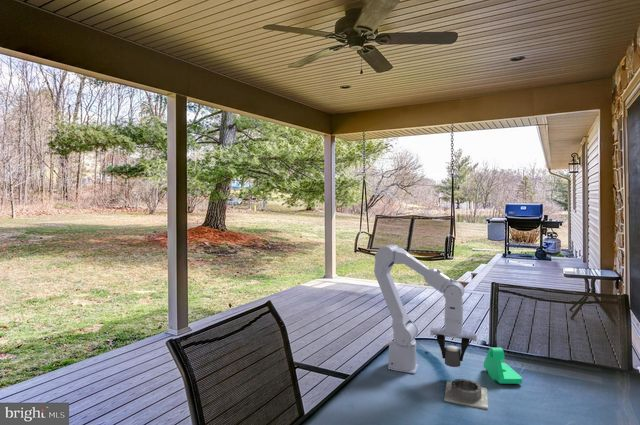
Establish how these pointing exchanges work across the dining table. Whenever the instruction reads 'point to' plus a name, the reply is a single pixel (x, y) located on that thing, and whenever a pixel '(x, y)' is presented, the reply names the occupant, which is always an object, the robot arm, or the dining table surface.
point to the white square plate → (466, 393)
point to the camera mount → (500, 368)
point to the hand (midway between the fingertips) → (452, 358)
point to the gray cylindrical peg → (452, 356)
